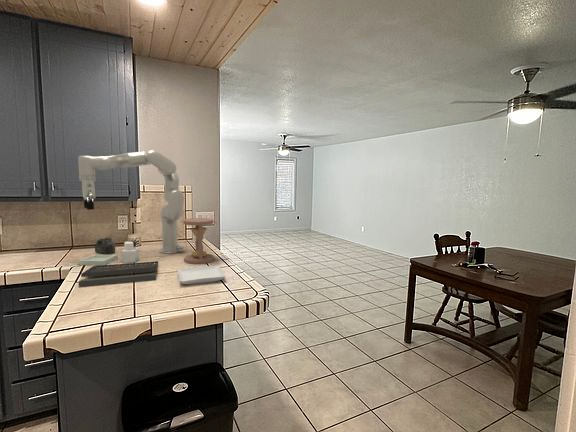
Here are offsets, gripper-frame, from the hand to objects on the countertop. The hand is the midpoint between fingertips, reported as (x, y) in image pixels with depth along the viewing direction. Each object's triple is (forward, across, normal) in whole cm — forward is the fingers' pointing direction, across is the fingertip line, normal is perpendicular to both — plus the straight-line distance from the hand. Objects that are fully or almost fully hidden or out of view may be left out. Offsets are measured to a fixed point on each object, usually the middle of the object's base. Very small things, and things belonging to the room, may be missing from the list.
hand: (89, 208), depth 170 cm
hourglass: (+31, -32, -51) cm, 68 cm away
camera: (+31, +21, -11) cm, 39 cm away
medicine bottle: (+31, -10, -18) cm, 38 cm away
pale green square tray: (+31, -1, -3) cm, 31 cm away
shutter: (+32, -33, -9) cm, 47 cm away
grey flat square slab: (+32, -63, -37) cm, 80 cm away
